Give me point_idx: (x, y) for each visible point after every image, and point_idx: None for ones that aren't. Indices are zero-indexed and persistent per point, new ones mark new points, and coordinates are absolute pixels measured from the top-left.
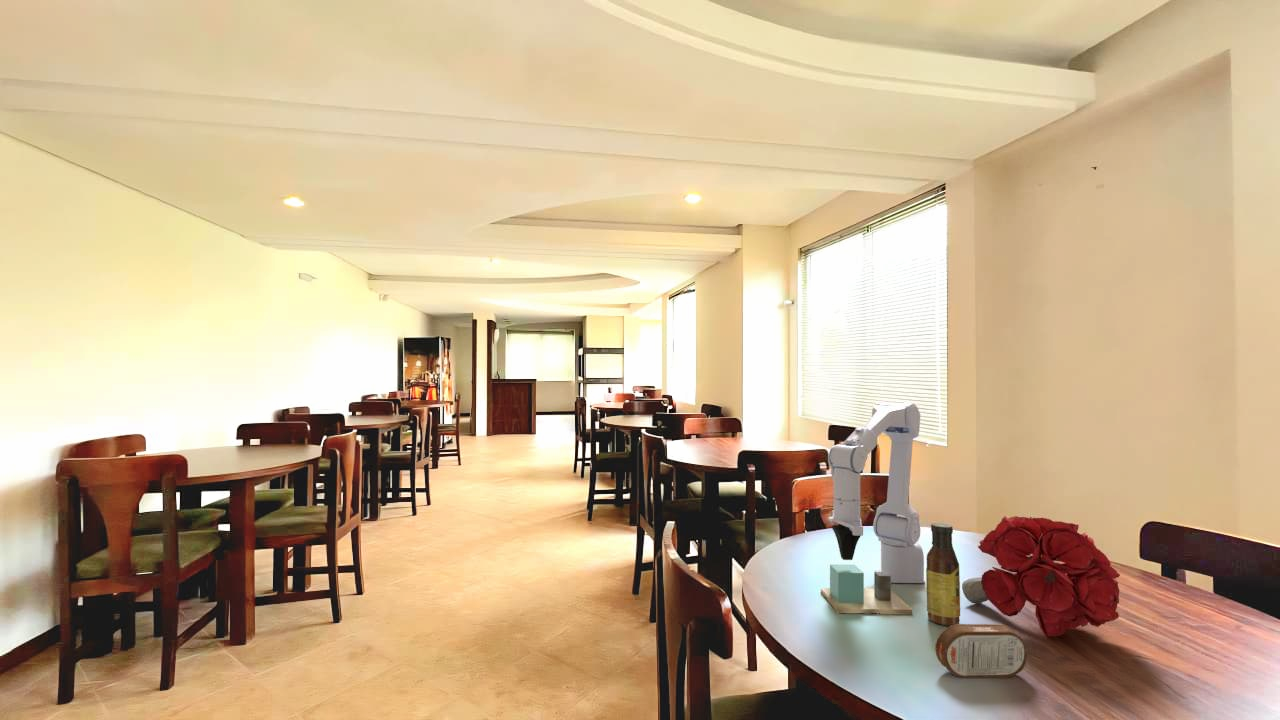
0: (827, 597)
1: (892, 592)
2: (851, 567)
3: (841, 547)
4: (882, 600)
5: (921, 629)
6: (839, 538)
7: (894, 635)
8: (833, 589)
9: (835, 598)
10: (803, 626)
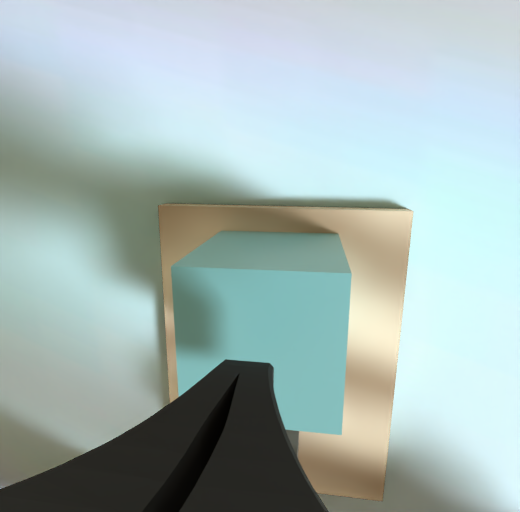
0: (302, 208)
1: (339, 492)
2: (281, 392)
3: (166, 407)
4: None
5: (69, 428)
6: (103, 471)
7: (14, 329)
8: (282, 239)
9: (256, 232)
10: (29, 12)
